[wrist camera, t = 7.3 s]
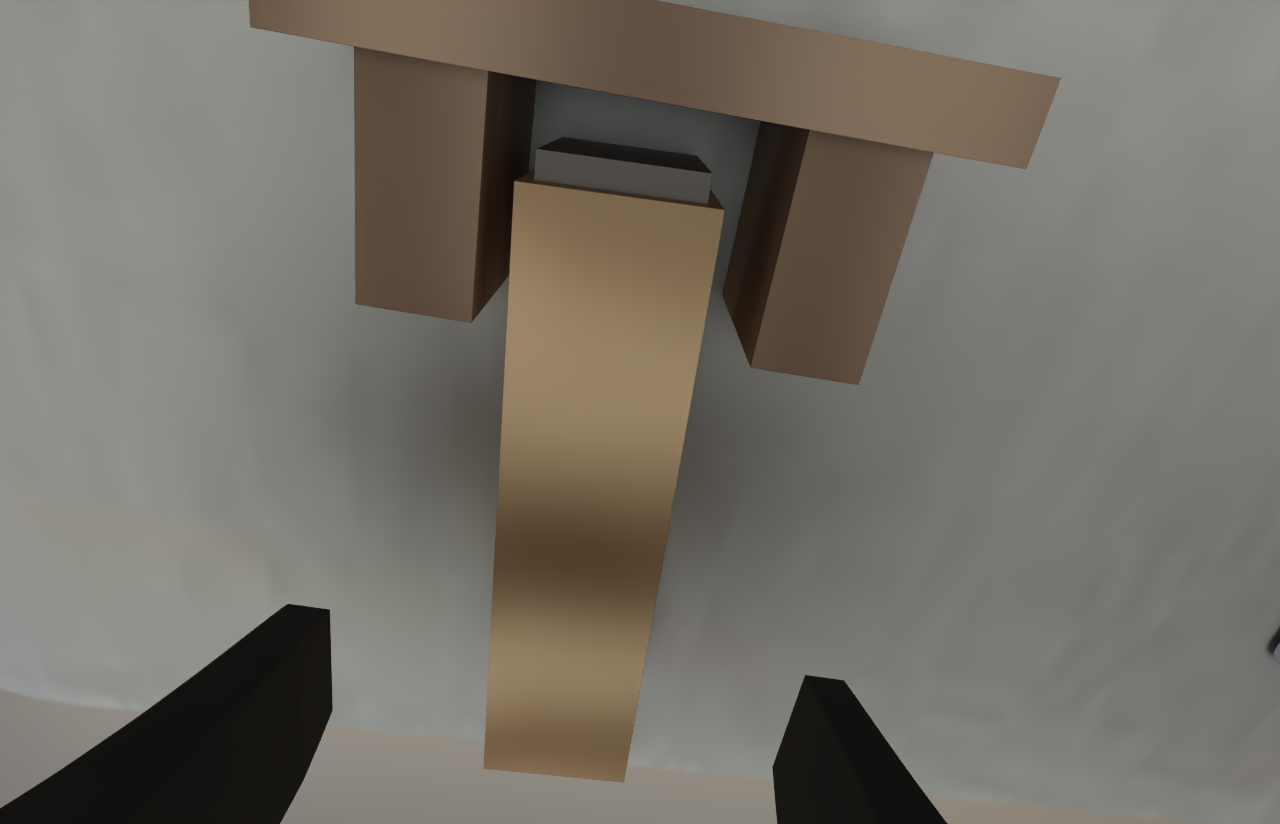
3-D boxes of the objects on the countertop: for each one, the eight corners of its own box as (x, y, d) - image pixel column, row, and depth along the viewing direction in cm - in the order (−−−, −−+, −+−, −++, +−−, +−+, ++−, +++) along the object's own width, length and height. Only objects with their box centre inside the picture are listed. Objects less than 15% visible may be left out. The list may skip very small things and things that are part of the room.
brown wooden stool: (909, 86, 15) (1060, 77, 9) (841, 314, 17) (933, 416, 12) (398, -10, 14) (244, -79, 9) (394, 240, 16) (267, 310, 11)
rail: (554, 134, 16) (516, 149, 11) (706, 155, 16) (730, 178, 11) (518, 627, 22) (483, 768, 17) (628, 639, 22) (623, 782, 17)
